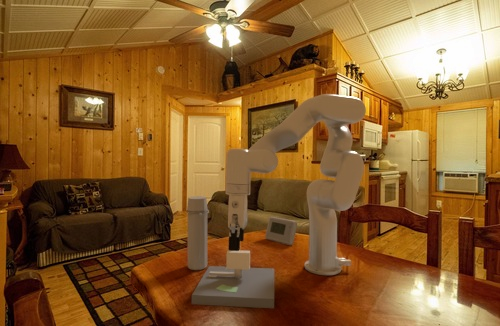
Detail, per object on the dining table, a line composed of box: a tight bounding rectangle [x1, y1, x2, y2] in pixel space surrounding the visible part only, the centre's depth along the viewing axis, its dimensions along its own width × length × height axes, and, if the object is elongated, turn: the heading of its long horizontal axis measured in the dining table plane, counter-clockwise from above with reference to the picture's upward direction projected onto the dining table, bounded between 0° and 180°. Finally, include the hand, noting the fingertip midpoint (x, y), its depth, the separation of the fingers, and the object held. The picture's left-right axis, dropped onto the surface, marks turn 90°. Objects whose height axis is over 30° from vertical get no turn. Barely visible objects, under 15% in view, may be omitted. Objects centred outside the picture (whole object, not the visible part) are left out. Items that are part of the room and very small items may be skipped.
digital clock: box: [264, 216, 298, 246], centre depth 131 cm, size 16×9×11 cm, turn 35°
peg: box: [209, 249, 251, 279], centre depth 86 cm, size 12×2×8 cm, turn 85°
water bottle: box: [185, 195, 210, 271], centre depth 99 cm, size 9×8×25 cm
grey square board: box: [191, 265, 275, 309], centre depth 83 cm, size 22×20×3 cm
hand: (236, 245), depth 85 cm, fingers open, 9 cm apart
